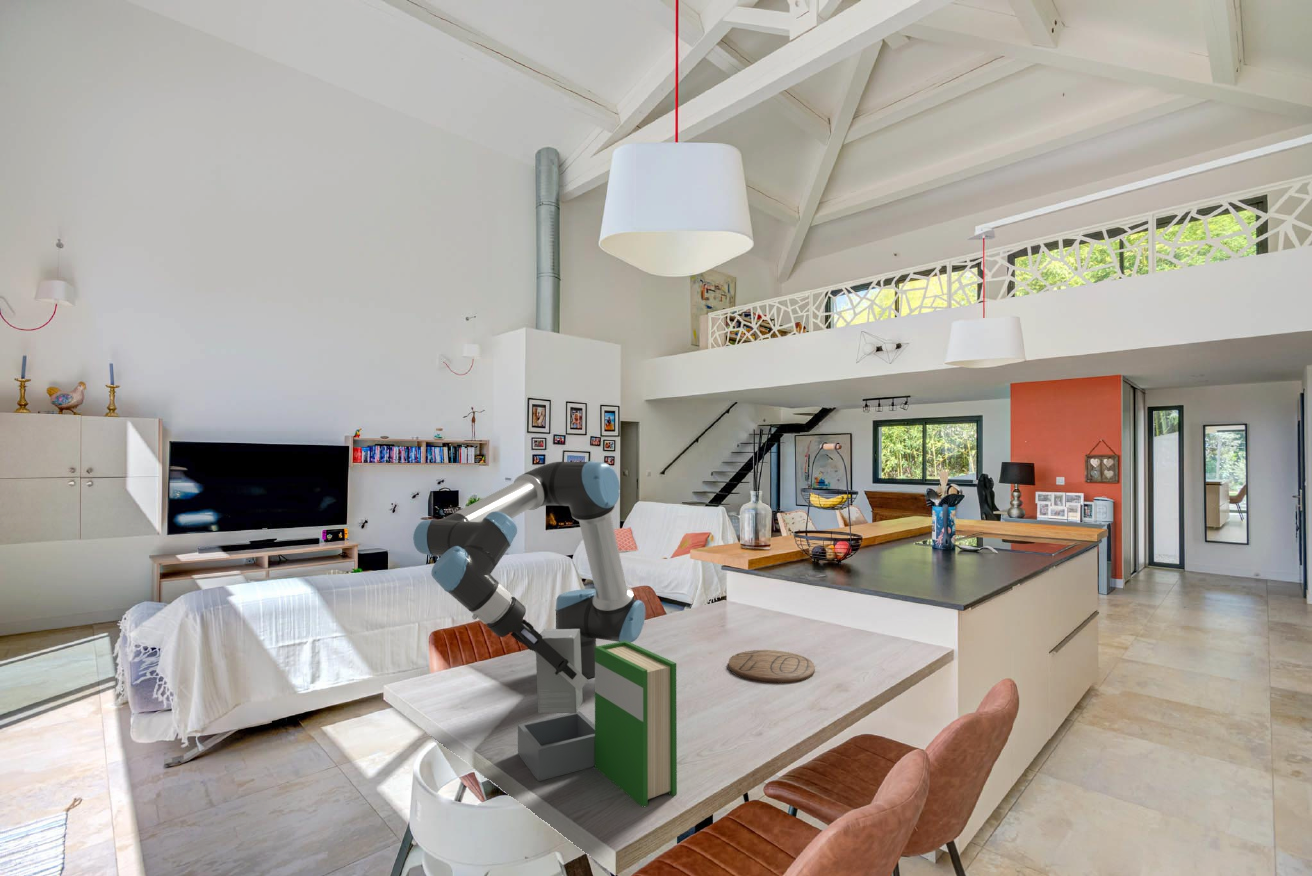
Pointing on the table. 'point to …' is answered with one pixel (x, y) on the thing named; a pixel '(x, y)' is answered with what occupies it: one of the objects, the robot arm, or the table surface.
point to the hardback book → (636, 720)
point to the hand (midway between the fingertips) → (573, 677)
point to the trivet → (771, 666)
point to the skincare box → (555, 688)
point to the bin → (557, 745)
